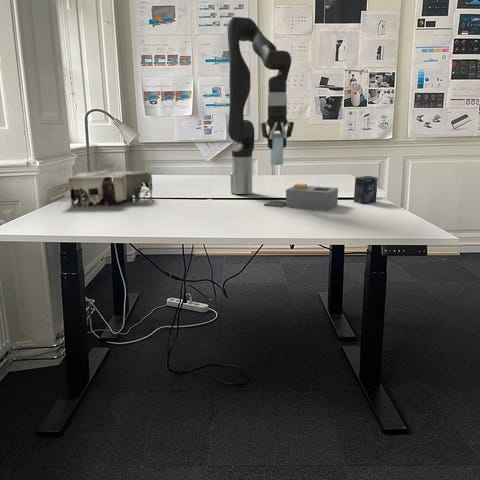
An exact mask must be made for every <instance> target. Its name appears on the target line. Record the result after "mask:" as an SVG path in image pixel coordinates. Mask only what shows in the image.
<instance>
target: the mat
mask: <svg viewBox="0 0 480 480" xmlns="http://www.w3.org/2000/svg"><path fill="white" fill-rule="evenodd" d="M263 206H264V207H265V206H266V207H275V208H283V207H286V201H279V200H270V201H267V202H265V203H263Z"/></svg>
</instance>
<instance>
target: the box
mask: <svg viewBox="0 0 480 480" xmlns="http://www.w3.org/2000/svg"><path fill="white" fill-rule="evenodd" d="M378 180H379V178H378V177H376V176H370V175H365V176H355V181H354V193H353V194H354V195H353V202H354V203H357V204H362V205H365V204H370V203H376V202H377V193H378V192H377V191H378Z"/></svg>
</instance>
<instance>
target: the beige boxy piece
mask: <svg viewBox="0 0 480 480" xmlns="http://www.w3.org/2000/svg"><path fill="white" fill-rule="evenodd" d="M143 187H145V188H148V189H147V190H146V189H142V188H143ZM68 188H69V193H70V204H71V207H72V206H79V207H80V206H81V207H86V206H88V207H100V206H117V205H120V204H121V203H128V202H134V201H135V202H138V201H139V200H141V193H143V194H144V195H143V196H142V198H143V199H144V200H146V197H147V196H149V197H148V198H149V199H150V200H152V199H153V177H152V172H151V171H144V170H139V171H138V170H137V171H136V170H134V171H81V172H77V173H76V174H74V175H72V176H71V177H69V178H68ZM145 191H146V192H145ZM148 193H149V194H150V195H149V194H148ZM76 201H77V202H76ZM75 202H76V204H75Z"/></svg>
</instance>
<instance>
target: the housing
mask: <svg viewBox="0 0 480 480" xmlns="http://www.w3.org/2000/svg"><path fill="white" fill-rule="evenodd" d="M338 194H339V187H333V186H332V187H328V186H316V185H315V186H314V185H313V186H312V185H307V188H305V189H295V188H294V186H291V187H288V188H286V189H285V202H286V205H285V207H289V208H296V209H297V208H298V209H308V210H317V211H318V210H320V211H330V210H332V209H333V208H334V207H335V208H336V206H338V203H339V202H338V200H339V198H338V196H339V195H338Z"/></svg>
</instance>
